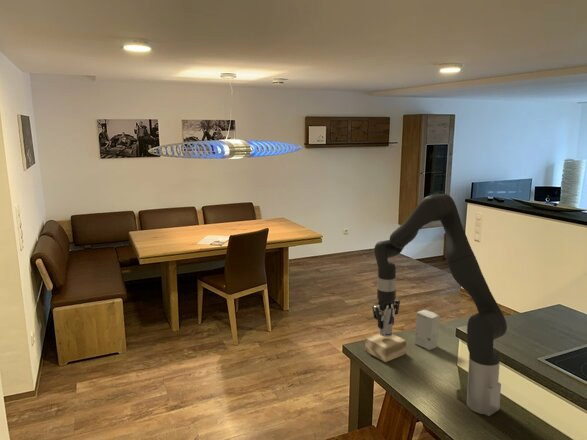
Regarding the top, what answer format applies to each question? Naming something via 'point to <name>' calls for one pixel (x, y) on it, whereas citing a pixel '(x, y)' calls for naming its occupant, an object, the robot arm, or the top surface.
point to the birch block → (385, 346)
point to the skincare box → (427, 329)
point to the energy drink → (387, 323)
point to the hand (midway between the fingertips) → (385, 326)
